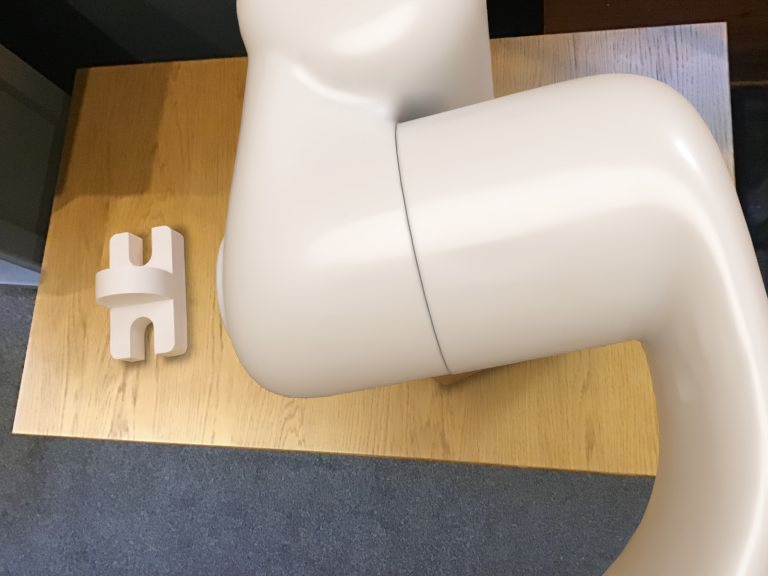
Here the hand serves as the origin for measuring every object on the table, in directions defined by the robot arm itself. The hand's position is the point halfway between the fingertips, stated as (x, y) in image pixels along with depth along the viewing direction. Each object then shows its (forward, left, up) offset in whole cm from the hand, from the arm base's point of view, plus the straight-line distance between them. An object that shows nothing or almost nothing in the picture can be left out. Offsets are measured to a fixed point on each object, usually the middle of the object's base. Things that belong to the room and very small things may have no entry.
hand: (453, 247), depth 47 cm
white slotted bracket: (+22, +41, -39) cm, 61 cm away
